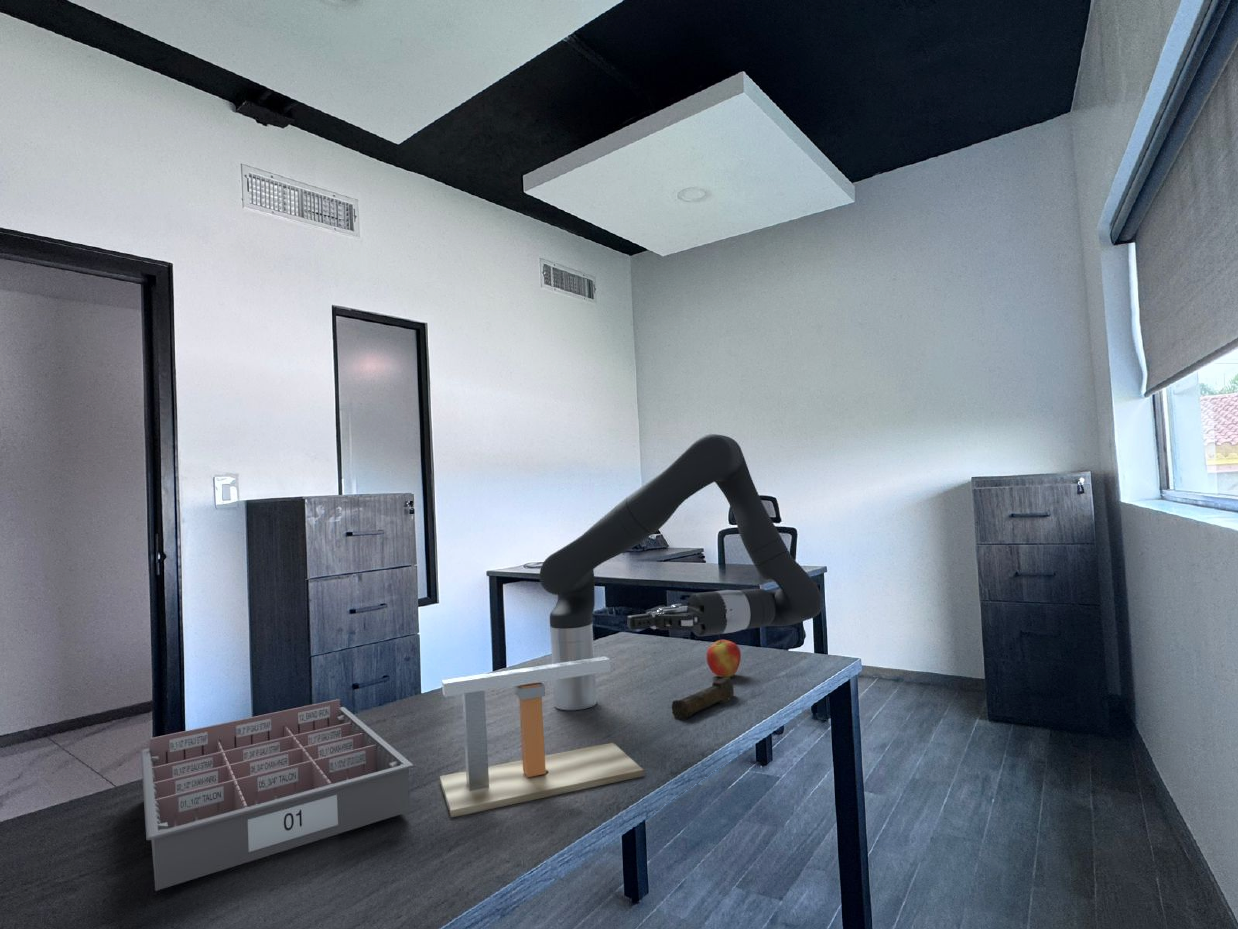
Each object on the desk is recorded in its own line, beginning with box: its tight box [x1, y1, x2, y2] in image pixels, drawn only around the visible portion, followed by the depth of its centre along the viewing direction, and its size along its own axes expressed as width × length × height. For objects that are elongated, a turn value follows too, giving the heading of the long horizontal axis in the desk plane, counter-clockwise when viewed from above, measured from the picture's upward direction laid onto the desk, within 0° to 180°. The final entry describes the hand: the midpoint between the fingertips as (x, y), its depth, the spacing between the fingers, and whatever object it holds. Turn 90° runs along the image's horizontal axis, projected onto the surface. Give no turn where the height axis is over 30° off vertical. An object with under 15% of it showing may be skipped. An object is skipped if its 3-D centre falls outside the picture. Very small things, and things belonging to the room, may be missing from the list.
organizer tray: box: [140, 698, 415, 892], centre depth 108 cm, size 32×40×10 cm
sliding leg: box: [514, 682, 546, 777], centre depth 112 cm, size 4×4×14 cm
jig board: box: [439, 742, 645, 818], centre depth 112 cm, size 14×30×1 cm, turn 111°
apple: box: [706, 634, 741, 678], centre depth 168 cm, size 8×8×10 cm
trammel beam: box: [441, 656, 611, 791], centre depth 112 cm, size 3×27×17 cm, turn 111°
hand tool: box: [671, 677, 735, 720], centre depth 145 cm, size 19×4×5 cm, turn 134°
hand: (628, 623), depth 119 cm, fingers closed
